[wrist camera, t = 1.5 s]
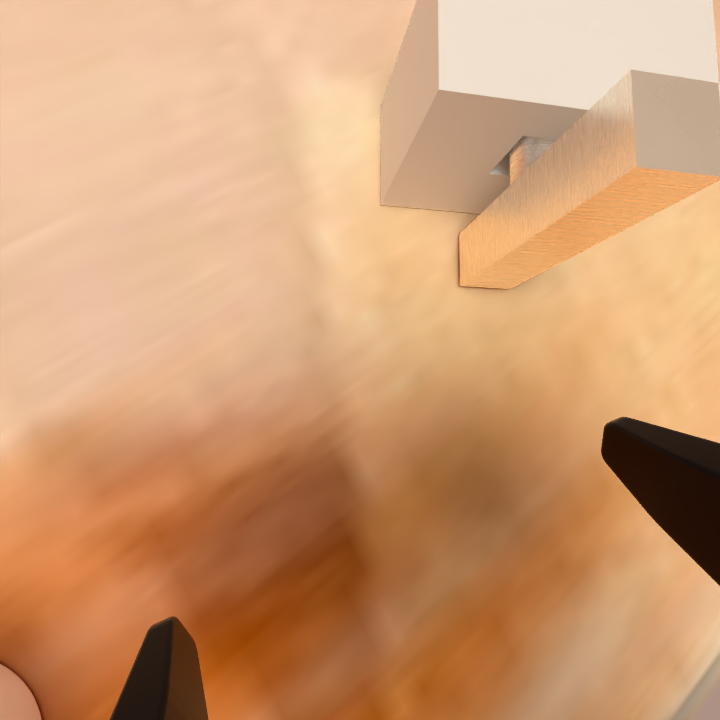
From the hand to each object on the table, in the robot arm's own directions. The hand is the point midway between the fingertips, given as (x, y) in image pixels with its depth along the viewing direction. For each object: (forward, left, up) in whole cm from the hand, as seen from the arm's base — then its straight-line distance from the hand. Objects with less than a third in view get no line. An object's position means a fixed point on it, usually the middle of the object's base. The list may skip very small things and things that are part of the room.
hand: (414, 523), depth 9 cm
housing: (+10, -16, -15) cm, 24 cm away
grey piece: (+10, -16, -15) cm, 24 cm away
